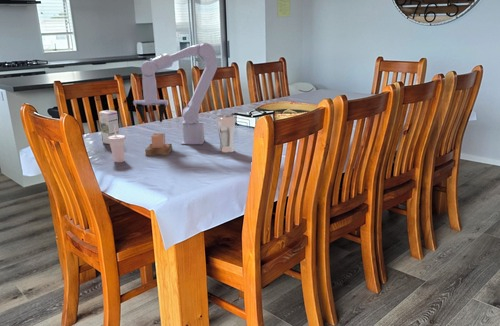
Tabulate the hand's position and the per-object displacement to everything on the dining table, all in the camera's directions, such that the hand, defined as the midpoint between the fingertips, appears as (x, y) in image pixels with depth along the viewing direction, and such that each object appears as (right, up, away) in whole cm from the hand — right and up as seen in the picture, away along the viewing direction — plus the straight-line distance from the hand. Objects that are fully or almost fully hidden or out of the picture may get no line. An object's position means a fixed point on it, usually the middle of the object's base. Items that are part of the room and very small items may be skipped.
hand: (152, 121), depth 187 cm
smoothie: (-9, -17, -19) cm, 27 cm away
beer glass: (+33, -13, -7) cm, 36 cm away
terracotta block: (+5, -11, -9) cm, 15 cm away
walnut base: (+5, -14, -8) cm, 17 cm away
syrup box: (-20, -9, +7) cm, 23 cm away
